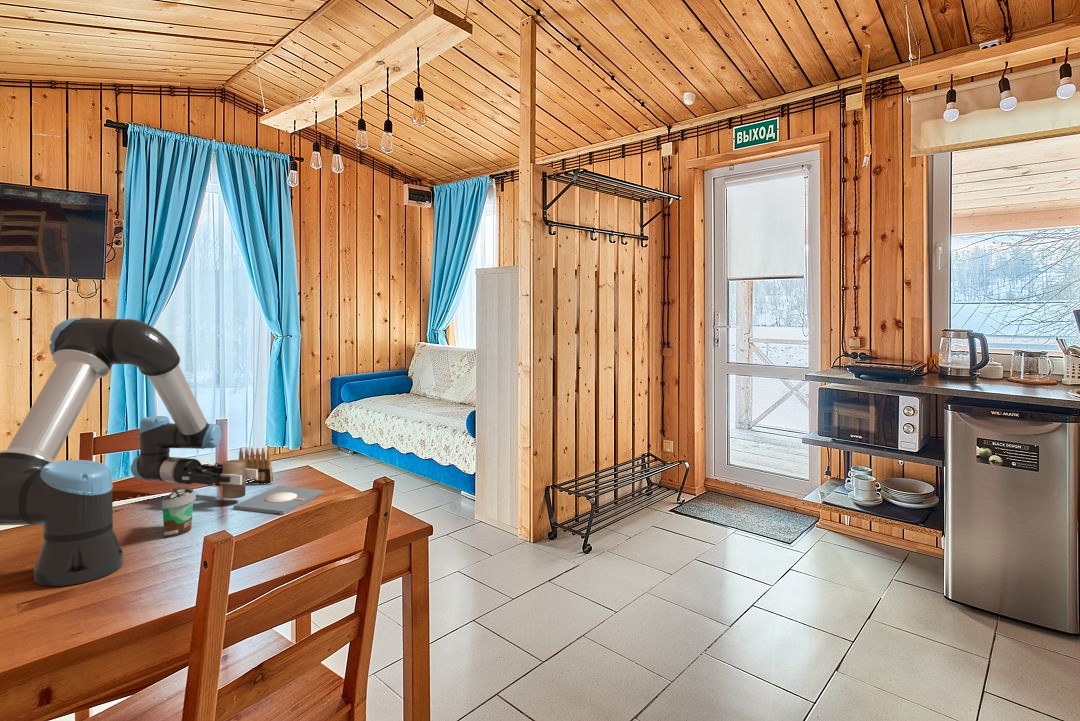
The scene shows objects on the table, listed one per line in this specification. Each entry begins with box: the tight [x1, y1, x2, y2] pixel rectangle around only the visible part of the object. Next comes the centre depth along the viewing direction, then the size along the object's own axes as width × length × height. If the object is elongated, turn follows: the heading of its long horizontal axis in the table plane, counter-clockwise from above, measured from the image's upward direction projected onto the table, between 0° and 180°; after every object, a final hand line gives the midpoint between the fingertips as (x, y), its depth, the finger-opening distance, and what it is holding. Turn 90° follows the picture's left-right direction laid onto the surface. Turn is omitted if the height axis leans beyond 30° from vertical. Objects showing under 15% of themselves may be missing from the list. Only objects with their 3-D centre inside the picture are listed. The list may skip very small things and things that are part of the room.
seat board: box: [233, 485, 325, 515], centre depth 172 cm, size 20×16×1 cm
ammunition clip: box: [238, 447, 274, 485], centre depth 188 cm, size 11×2×12 cm, turn 93°
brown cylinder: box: [222, 459, 247, 500], centre depth 169 cm, size 6×6×10 cm
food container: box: [161, 486, 197, 539], centre depth 147 cm, size 12×6×10 cm, turn 22°
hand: (249, 477), depth 168 cm, fingers closed on brown cylinder, 6 cm apart
